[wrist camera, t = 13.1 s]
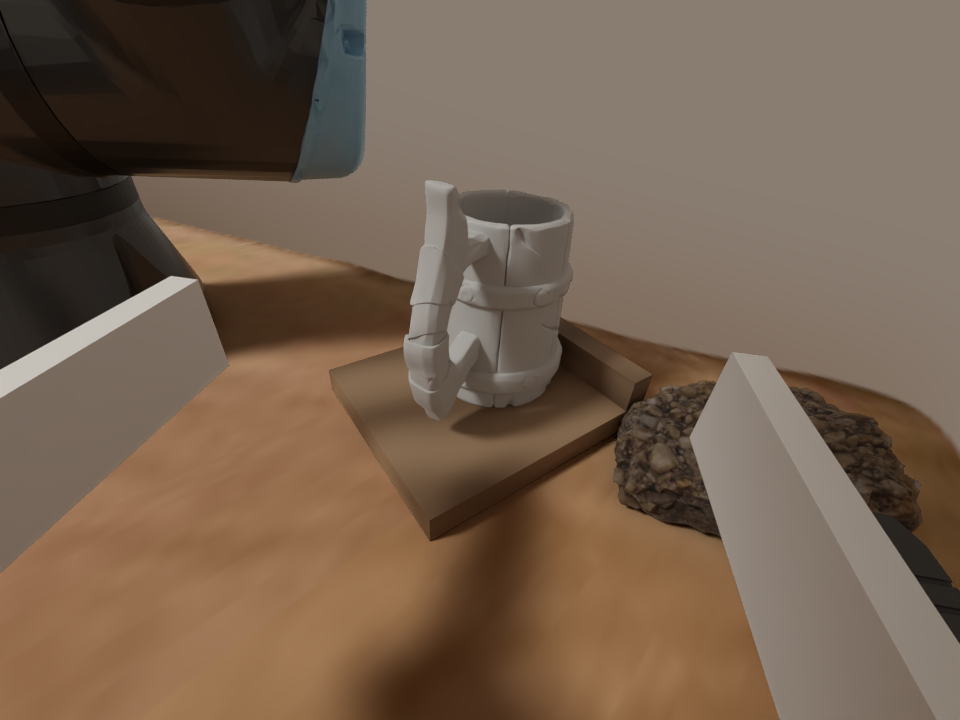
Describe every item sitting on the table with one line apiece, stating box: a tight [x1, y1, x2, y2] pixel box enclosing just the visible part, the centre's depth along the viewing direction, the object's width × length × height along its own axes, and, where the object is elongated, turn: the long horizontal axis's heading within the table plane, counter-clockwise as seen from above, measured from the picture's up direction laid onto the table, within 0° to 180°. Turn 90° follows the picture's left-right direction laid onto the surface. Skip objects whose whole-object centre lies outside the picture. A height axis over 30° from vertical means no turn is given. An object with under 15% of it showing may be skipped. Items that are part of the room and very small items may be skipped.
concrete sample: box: [613, 380, 922, 537], centre depth 21 cm, size 12×10×5 cm
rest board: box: [329, 317, 653, 541], centre depth 25 cm, size 12×14×4 cm
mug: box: [404, 180, 573, 421], centre depth 21 cm, size 8×12×12 cm, turn 151°
